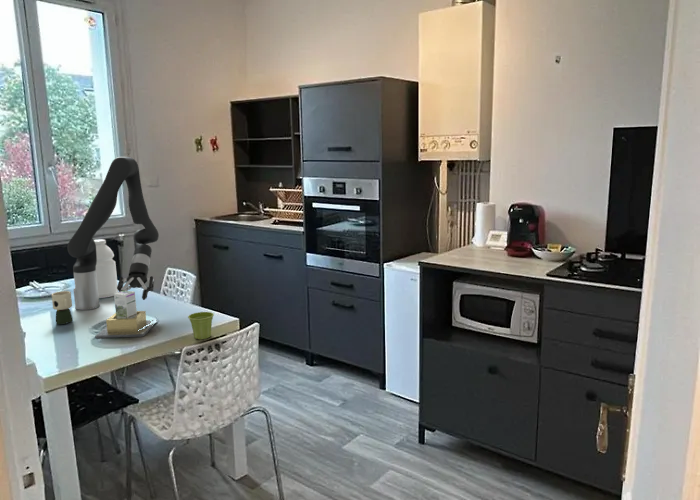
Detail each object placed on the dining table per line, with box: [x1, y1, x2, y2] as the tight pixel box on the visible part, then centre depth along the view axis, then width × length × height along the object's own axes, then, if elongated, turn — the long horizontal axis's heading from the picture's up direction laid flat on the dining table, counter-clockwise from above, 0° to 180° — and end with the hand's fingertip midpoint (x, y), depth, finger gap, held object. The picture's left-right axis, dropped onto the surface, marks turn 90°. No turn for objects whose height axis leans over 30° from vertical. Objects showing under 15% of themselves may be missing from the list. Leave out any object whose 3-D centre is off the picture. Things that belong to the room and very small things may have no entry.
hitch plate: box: [95, 310, 158, 339], centre depth 213 cm, size 18×18×6 cm
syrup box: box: [113, 290, 138, 319], centre depth 213 cm, size 6×6×14 cm
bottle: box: [93, 238, 119, 299], centre depth 268 cm, size 14×14×28 cm
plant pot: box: [187, 311, 215, 340], centre depth 203 cm, size 9×9×9 cm
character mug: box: [51, 290, 74, 325], centre depth 223 cm, size 11×7×13 cm, turn 44°
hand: (132, 299), depth 221 cm, fingers open, 8 cm apart
